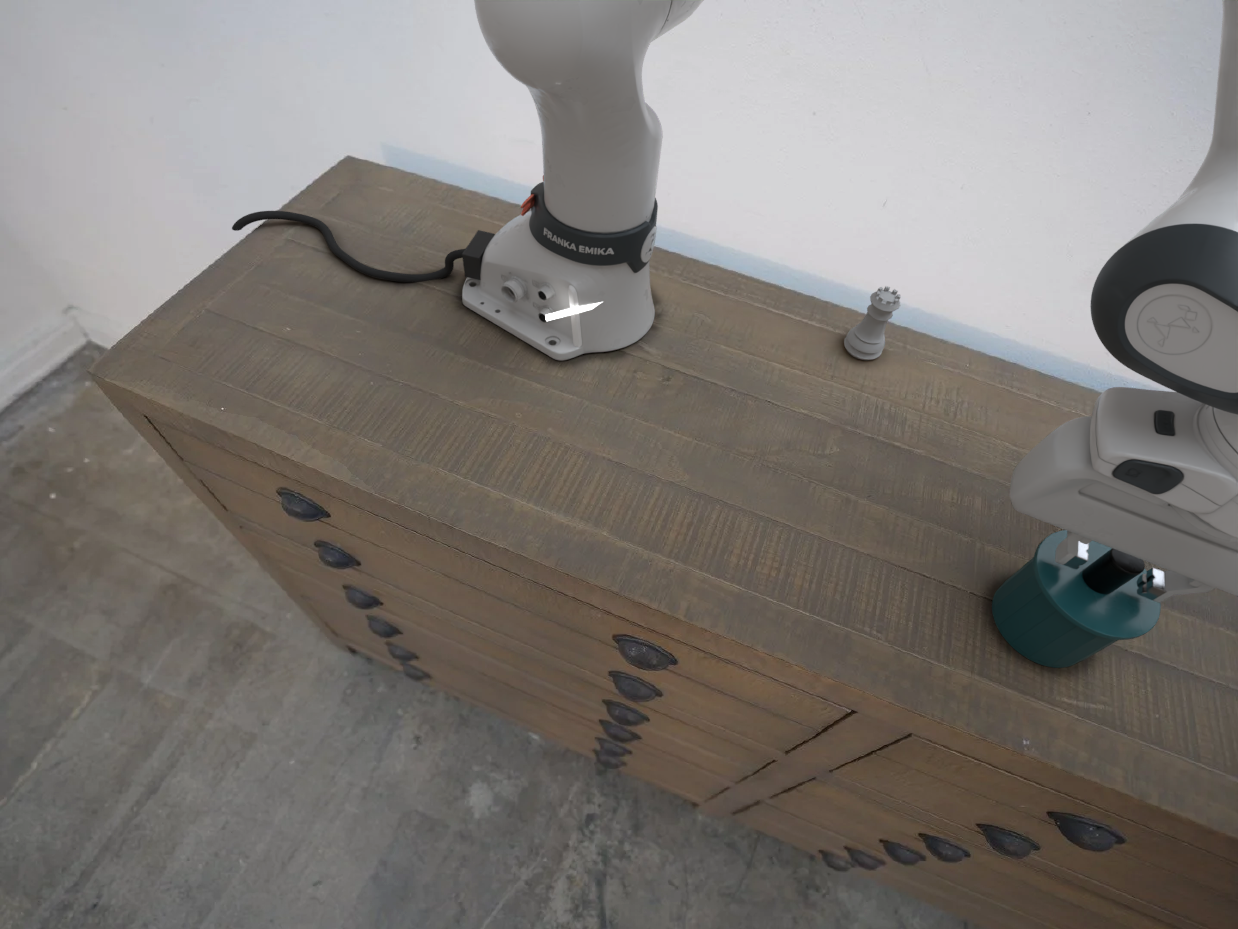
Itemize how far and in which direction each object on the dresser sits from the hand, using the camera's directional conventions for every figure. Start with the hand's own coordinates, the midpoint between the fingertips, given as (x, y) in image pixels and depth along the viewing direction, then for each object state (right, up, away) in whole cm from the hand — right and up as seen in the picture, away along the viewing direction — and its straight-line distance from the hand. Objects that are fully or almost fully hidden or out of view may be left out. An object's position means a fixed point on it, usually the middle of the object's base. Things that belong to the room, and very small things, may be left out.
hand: (1105, 575), depth 52 cm
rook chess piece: (-9, +22, +27) cm, 36 cm away
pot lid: (0, -1, +1) cm, 1 cm away
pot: (-1, -5, +7) cm, 9 cm away
